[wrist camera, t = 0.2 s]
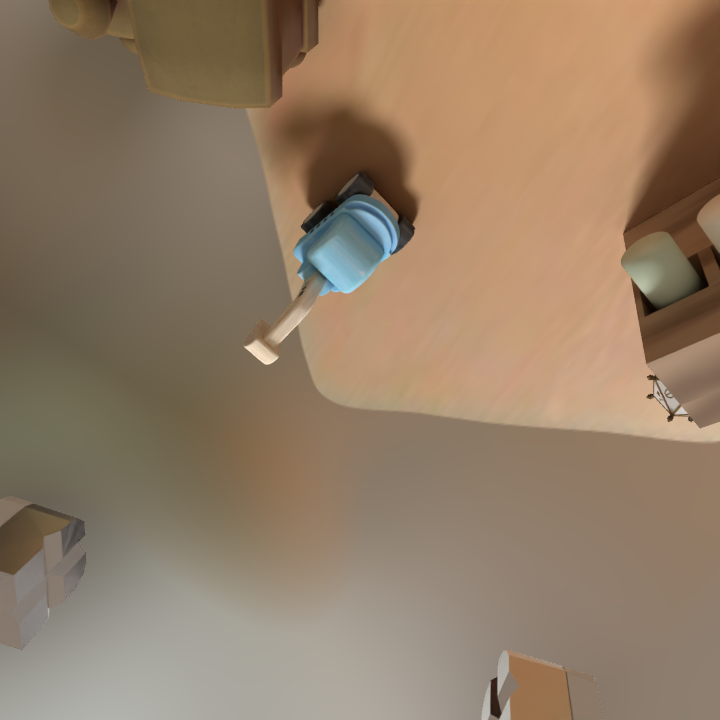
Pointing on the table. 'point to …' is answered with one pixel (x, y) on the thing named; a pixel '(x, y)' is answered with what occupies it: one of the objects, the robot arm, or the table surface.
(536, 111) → the table surface
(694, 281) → the sage button
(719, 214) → the cream button
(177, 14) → the wooden toy train
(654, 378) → the game die
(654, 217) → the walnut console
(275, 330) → the toy excavator
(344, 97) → the table surface
